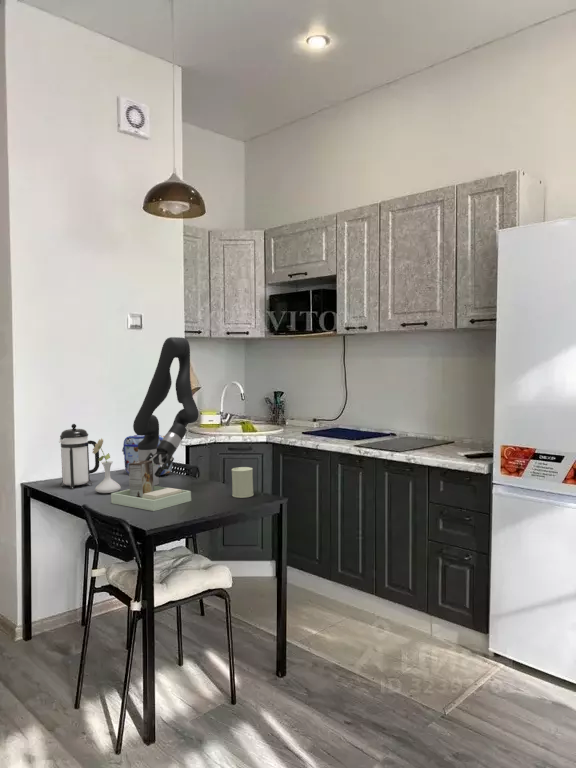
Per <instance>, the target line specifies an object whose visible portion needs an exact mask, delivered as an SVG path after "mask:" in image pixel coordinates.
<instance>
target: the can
mask: <svg viewBox="0 0 576 768" xmlns="http://www.w3.org/2000/svg"><path fill="white" fill-rule="evenodd" d="M231 478H232V479H231V482H232V483H231V484H232V486H231V489H232V490H231V491H232V494H231V495H232V497H233V498H236V499H237V498H240V499H242V498H250V497H253V496H254V479H253V467H249V466H240V467H233V468H231Z"/></svg>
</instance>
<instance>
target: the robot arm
mask: <svg viewBox="0 0 576 768" xmlns="http://www.w3.org/2000/svg"><path fill="white" fill-rule="evenodd" d="M175 358H177V359H178V366H179V367H178V368H179V369H178V374H177V376H176V380H175V392H176V398H177V399H176V400H177V402H178V403H179V404H181V405H182V407H183V408H182V409H180V410H179V411H178V412H177V414H176V415H175V418H174V420H173V422H172V425H171V426H170V428H169V429H168V431H167V433H166V434H165V435H163V436H164V438H163V439H162V441H161V442H160V444H159V445H158V442H159V435H160V421H159V419H158V417H157V416H156V415H154V412H155V411H156V409H157V408H158V407H160V405H161V404H162V403H163V402H164V401H165V400H166V398H167V397H168V395H169V393H170V390H171V387H172V383H173V381H172V376H171V367H172V363H173V361H174V359H175ZM153 373H154V374H153V376H152V378H151V381H150V384H149V385H148V386H149V387H148V388H147V391H146V395H145V397H144V399H143V401H142V403H141V406H140V408H139V410H138V412H137V414H136V415H135V418H134V420H133V425H132V428H133V431H134V433H135V435H145V437H144V439H143V440H142V441H141V442H139V443H138V461H152V466H153V485H154V486H159V484H160V481H159V480H160V476H162V475H161V473H162V472H163V470H165V469H167V470H168V469H169V467H170V465H171V464H172V465H173V462H174V461H175V457H173V456H174V454H175V452H176V450H177V449H178V448H179V446H180V444H181V442H182V441H183V438H184V437H185V436H186V433H187V431H188V430H187V428H186V427H187V426H188V425H189V424H193V423H196V422H197V421H198V419H199V414H200V413H199V409H198V406H197V404H196V401H195V399H194V395H193V389H192V382H191V346H190V343H189V341H188V339H186V338H184V337H180V336H179V337H175V336H171V337H167V338H165V340H164V341H163V344H162V347H161V351H160V354H159V358H158V362H157V365H156V368H155V371H154V372H153ZM167 463H168V465H167ZM158 464H159V465H160V467H159V468H158Z"/></svg>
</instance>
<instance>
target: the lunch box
mask: <svg viewBox="0 0 576 768" xmlns="http://www.w3.org/2000/svg"><path fill="white" fill-rule="evenodd" d="M164 436H165V435H162V434H161V435H160V434H159V442H158V445H159V444H160V442H161V441H162V439H163V438H164ZM144 437H145V435H137V434H135V435H129V436H126V437H125V438H124V440H123V447H122V449H121V452H123V453H122V454H123V456H124V457H123V458H124V459H123V460H124V468H125V471H126V473H127V474H128V475H129V464H131V463H133V462H136V461H138V443H139V442H141V441H142V440H143V439H144ZM167 465H168V463H167ZM159 467H160V465H159V464H158V468H159ZM172 470H173V463H172V464H171V465H170V467H169V469H168V470H167V469H165V470H163V472H162V473H161V475H160V476H163V475H165V474H169V473H171V471H172Z"/></svg>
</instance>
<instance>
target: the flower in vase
mask: <svg viewBox="0 0 576 768" xmlns="http://www.w3.org/2000/svg"><path fill="white" fill-rule="evenodd" d="M96 443H97V444H95V447H94V446H93V448H92V454H93V455H95V454H96V453H97V452H98V451H99V452H100V450H101V452H102V454H103V455H101V456H99V460H98V461H99V462H101V464H102V466H103V468H104V478H103V480H102V481H101V482H100V483H98V484H97V485H96V487H95V489H94V491H95V492H97V493H100V494H111V493H115V492H119V491H121V489H122V486H121V485H120V484H119V483H118V482H117V481H115V480H114V479H113V478H112V477H111V466H112V465H113V461H111V460H109V459H110V458H111V455H110V453H106V455H105V453H104V451H103V449H102V446H103V445H104V438H102V437H101V438H100V439H98V441H97V442H96ZM103 460H105V461H103Z"/></svg>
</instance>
